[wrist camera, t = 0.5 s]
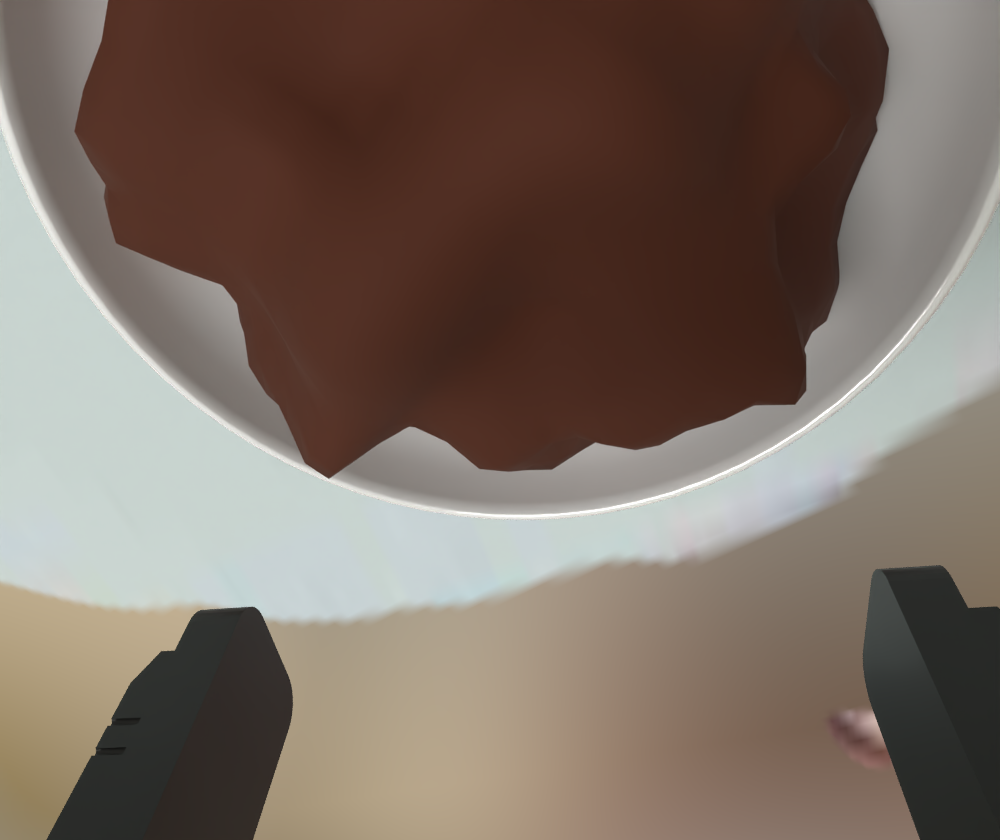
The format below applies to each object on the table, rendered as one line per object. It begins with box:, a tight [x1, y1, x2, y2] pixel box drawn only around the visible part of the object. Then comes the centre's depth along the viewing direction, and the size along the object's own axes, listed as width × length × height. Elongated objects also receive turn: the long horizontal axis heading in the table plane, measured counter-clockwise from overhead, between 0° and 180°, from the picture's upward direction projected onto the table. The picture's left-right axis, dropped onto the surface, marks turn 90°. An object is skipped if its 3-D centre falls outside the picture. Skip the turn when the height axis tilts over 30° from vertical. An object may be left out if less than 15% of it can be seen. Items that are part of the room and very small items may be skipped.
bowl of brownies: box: [0, 0, 1000, 520], centre depth 22 cm, size 25×25×15 cm
